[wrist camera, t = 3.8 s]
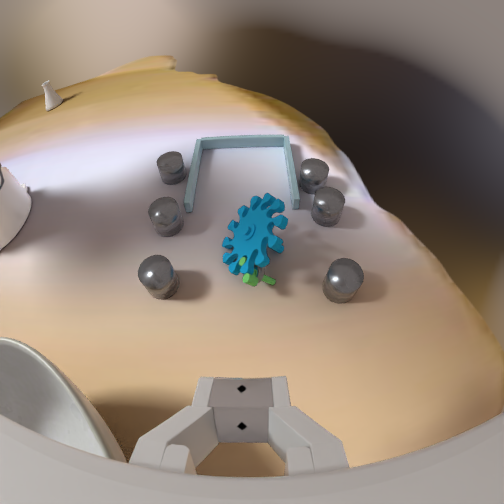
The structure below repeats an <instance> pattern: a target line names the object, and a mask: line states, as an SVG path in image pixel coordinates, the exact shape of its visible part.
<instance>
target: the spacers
mask: <svg viewBox="0 0 504 504" xmlns="http://www.w3.org/2000/svg"><path fill="white" fill-rule="evenodd" d="M157 166H158V169H159V172H160V175H161V178H162V180H163V182H164V183H166V184H170V185H172V184H177V183H179V182H181V181H182V180H183V179H184V178H185V176H186V171H185V167H184V163H183V159H182V155H181V154H180V153H179V152H175V151H172V152H167V153H165V154H163V155H161V156H160V157H159V158H158V160H157ZM328 172H329V167H328V165H327V164H326V163H325V162H323V161H322V160H319V159H314V158H311V159H306V160H305V161H303V162H302V164H301V172H300V179H299V186H300V188H301V189H302V190H303V191H305V192H307V193H310V194H315V197H314V202H313V207H312V212H311V216H312V218H313V220H314V221H315V222H316V223H317V224H319V225H321V226H326V227H330V226H333V225H335V224H337V222H338V221H339V218H340V215H341V212H342V209H343V206H344V203H345V198H344V196H343V194H342V193H341V192H340V191H338V190H337V189H334V188H331V187H325V185H326V181H327V177H328ZM148 214H149V216H150V218H151V221H152V223H153V225H154V227H155V229H156V231H157V233H158V234H159V235H161V236H164V237H169V236H173V235H175V234H177V233H178V232H179V231H180V230H181V229H182V227H183V219H182V216H181V213H180V210H179V207H178V204H177V202H176V200H175V199H173V198H171V197H163V198H159V199H157V200H156V201H154V202H153V203H152V204H151V205H150V207H149V210H148ZM138 277H139V279H140V281H141V282H142V284H143V285H144V286H145V288H146V289H147V290H148V291H149V293H150V294H151V295H152V296H153V297H155V298H157V299H166V298H169V297H171V296H172V295H173V294H174V293H175V292H176V291H177V289H178V286H179V279H178V276H177V275H176V273H175V271H174V269H173V267H172V265H171V263H170V261H169V260H168V259H167V258H166V257H164V256H162V255H153V256H150V257H148V258H146V259H145V260H144V261H143V262H142V263H141V265H140V267H139V270H138ZM363 279H364V274H363V271H362V269H361V267H360V266H359V264H358V263H356V262H355V261H353V260H351V259H348V258H341V259H337V260H335V261H334V262H333V263H332V264H331V266H330V268H329V270H328V273H327V275H326V277H325V280H324V282H323V292H324V294H325V296H326V297H327V298H328V299H329V300H330V301H332V302H335V303H346V302H348V301H349V300H351V298H352V297H353V296H354V294H355V293H356V291H357V290H358V289H359V287H360V286H361V284H362V282H363Z"/></svg>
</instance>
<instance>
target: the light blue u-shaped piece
mask: <svg viewBox="0 0 504 504" xmlns="http://www.w3.org/2000/svg"><path fill="white" fill-rule="evenodd" d="M236 147H284V153H285V159H286V166H287V172H288V179H289V186H290V193H291V201H292V208H293V209H298V208H299V202H300V197H299V191H298V185H297V179H296V174H295V168H294V162H293V157H292V152H291V146H290V141H289V136H284V135H241V136H220V137H205V138H201V139H197V140H196V145H195V149H194V154H193V158H192V163H191V168H190V173H189V177H188V182H187V188H186V193H185V198H184V206H185V209H186V212H192V209H193V202H194V196H195V190H196V184H197V178H198V172H199V166H200V161H201V155H202V150H203V149H216V148H236Z"/></svg>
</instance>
